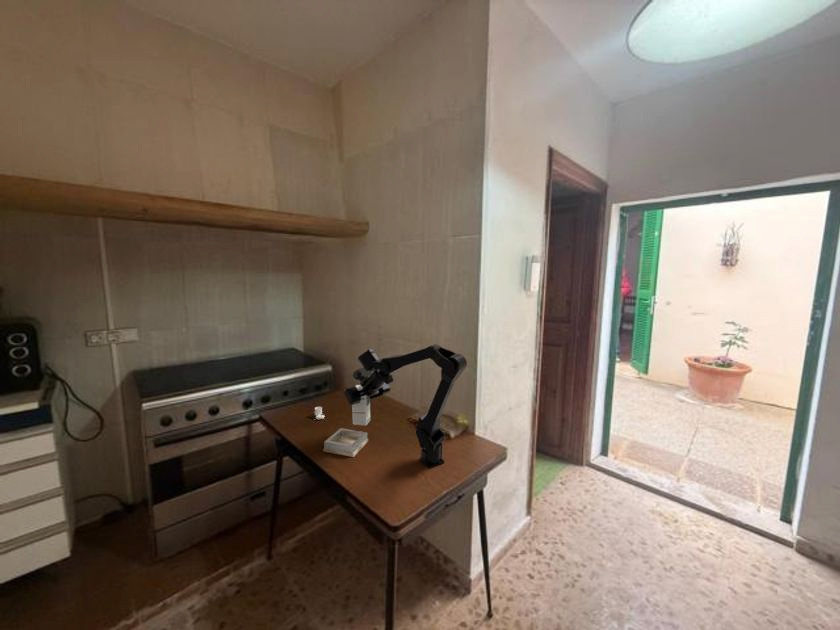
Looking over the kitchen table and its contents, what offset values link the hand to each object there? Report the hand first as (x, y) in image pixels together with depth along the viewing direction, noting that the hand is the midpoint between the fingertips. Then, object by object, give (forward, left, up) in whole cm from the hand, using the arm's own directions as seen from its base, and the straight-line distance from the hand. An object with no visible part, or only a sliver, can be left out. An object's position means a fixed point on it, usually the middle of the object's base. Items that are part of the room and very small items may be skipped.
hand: (359, 401), depth 131 cm
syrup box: (0, +1, -8) cm, 8 cm away
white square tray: (+8, +7, -13) cm, 17 cm away
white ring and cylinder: (+12, -24, -14) cm, 30 cm away
